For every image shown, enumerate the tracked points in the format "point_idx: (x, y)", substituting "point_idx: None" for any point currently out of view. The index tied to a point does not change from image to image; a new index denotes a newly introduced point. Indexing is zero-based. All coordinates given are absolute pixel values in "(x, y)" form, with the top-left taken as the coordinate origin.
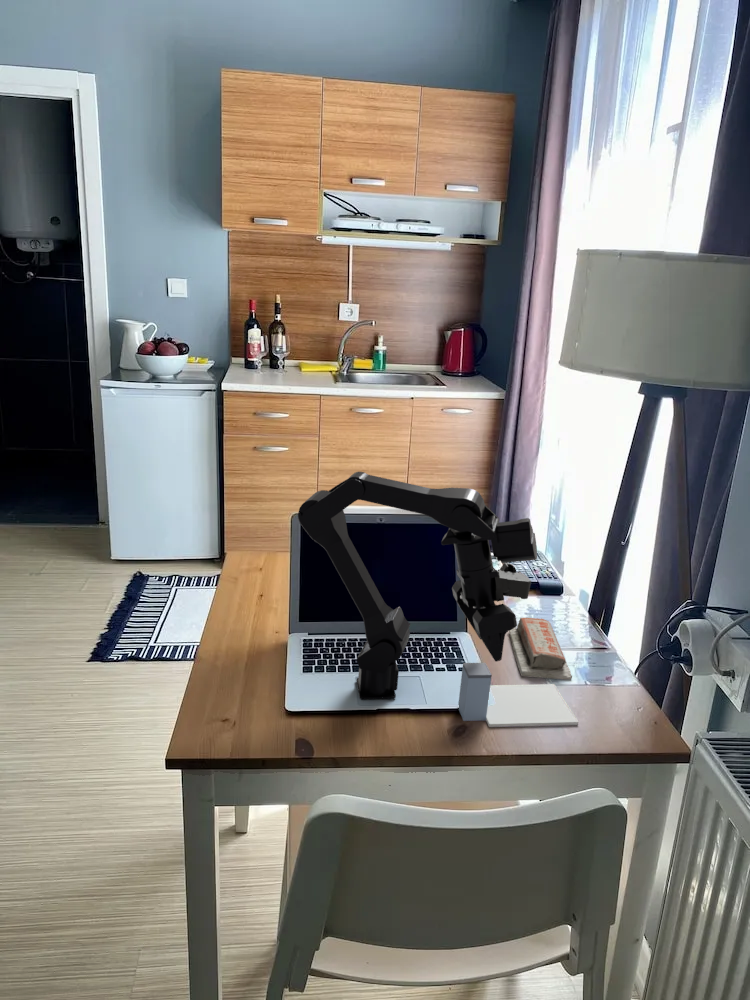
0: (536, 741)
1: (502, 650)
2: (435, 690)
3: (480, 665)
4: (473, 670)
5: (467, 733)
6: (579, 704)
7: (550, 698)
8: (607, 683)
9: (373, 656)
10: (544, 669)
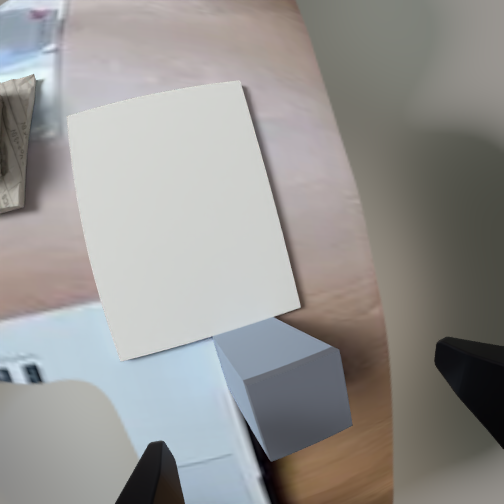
0: (325, 191)
1: (497, 345)
2: None
3: (277, 402)
4: (319, 419)
5: None
6: (145, 67)
7: (139, 129)
8: (56, 14)
9: None
10: (5, 140)
